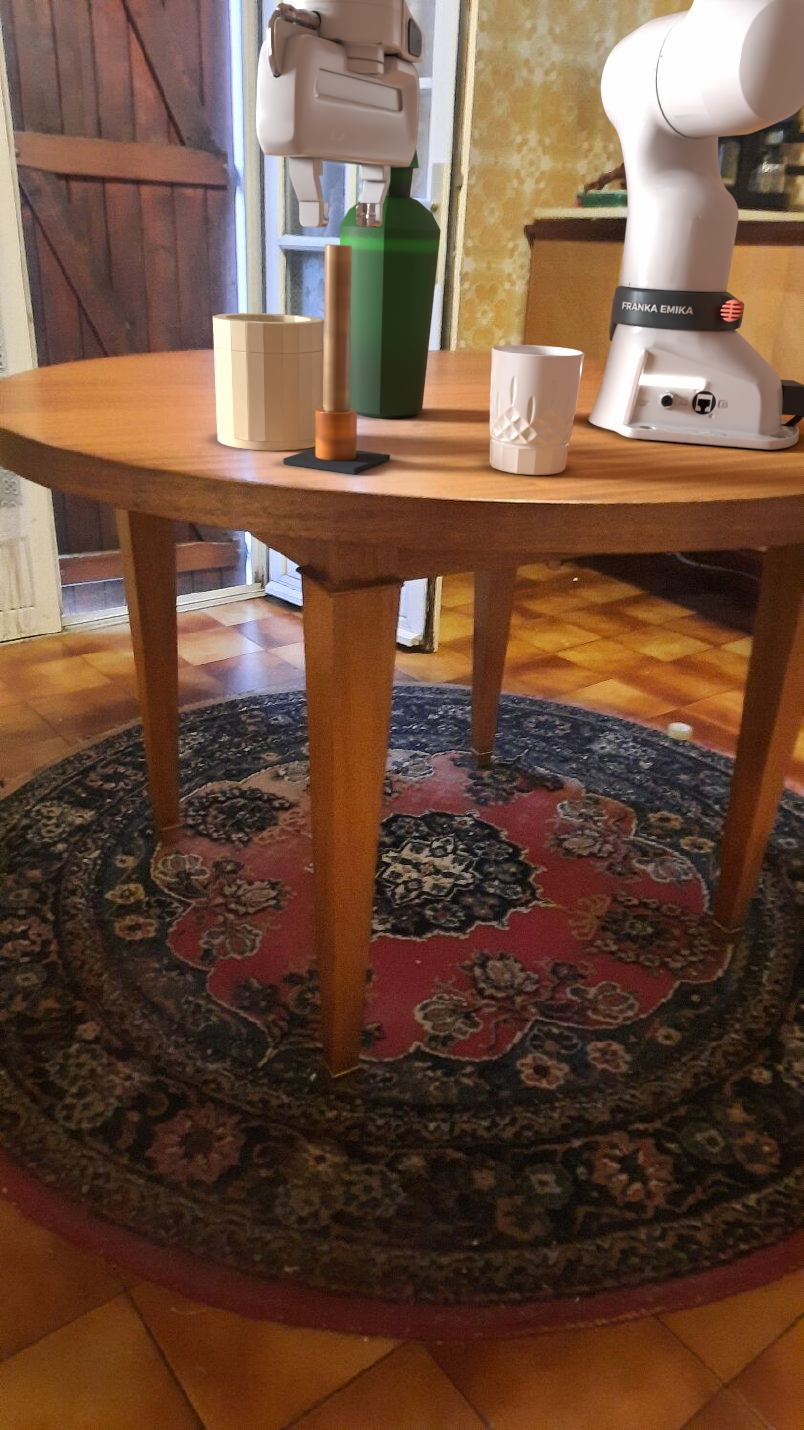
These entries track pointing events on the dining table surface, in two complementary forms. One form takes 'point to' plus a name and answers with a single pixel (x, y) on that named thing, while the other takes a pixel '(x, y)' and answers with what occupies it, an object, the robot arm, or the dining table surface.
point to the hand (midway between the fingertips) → (343, 227)
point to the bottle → (391, 301)
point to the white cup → (532, 407)
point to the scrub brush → (336, 361)
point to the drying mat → (348, 466)
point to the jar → (268, 379)
